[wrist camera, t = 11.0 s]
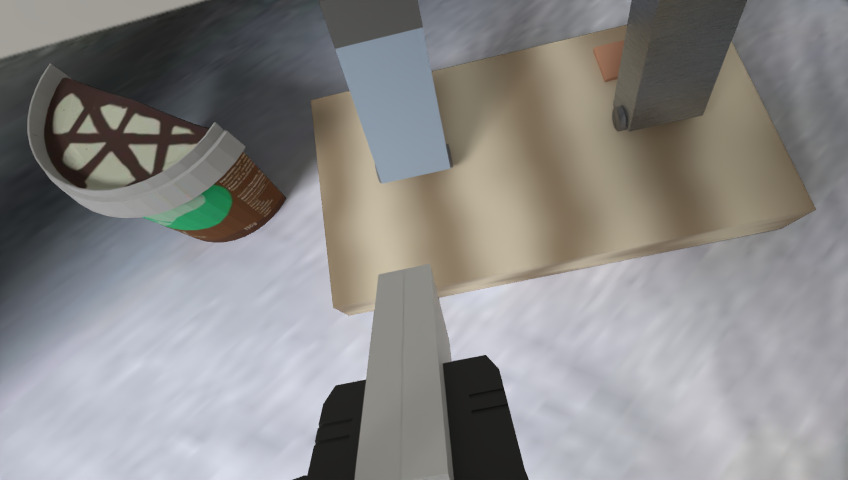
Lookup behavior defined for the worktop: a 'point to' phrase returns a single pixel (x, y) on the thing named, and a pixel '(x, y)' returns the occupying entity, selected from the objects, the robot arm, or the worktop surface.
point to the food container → (146, 162)
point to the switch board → (549, 176)
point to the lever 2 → (671, 59)
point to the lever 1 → (390, 84)
